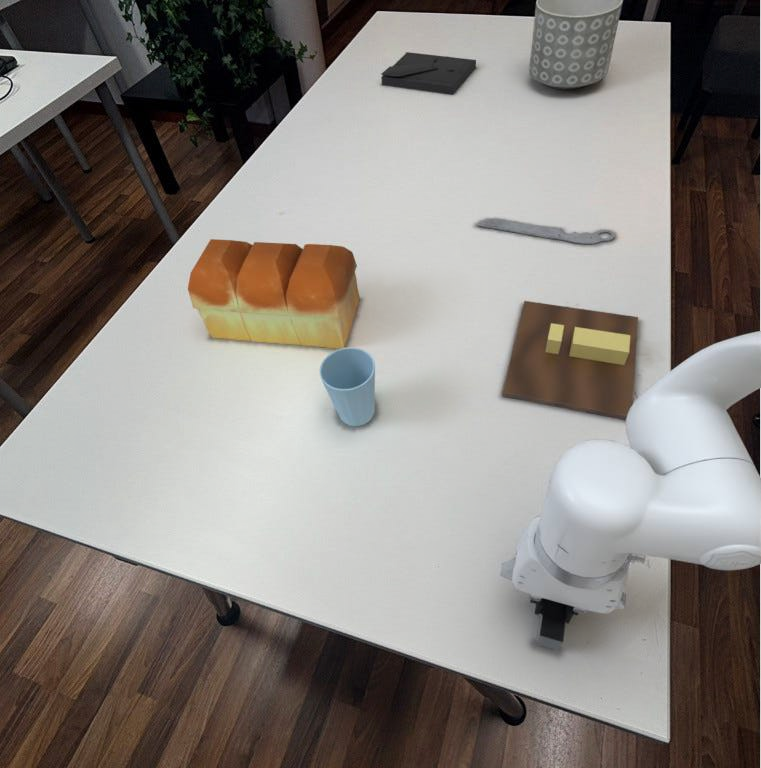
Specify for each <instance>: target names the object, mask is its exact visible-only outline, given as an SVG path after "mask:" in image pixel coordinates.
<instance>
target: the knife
mask: <svg viewBox="0 0 761 768" xmlns="http://www.w3.org/2000/svg"><path fill="white" fill-rule="evenodd" d="M476 227H482V228H486V229H493V230H499V231H504V232H509V233H515V234H522V235H529V236H535V237H540V238H546V239H551V240H560V241H565V242H569V243H574V244H581V245H594V244H599V243H601V242H610V241H612V240H614V239H615V236H616V234H615V232H614V231H612V230H610V229H600V230H597V231H595V232H582V233H581V232H580V233H579V232H572V233H567V232H564V231H563V230H562V227H556V226H546V225H539V224H532V223H526V222H521V221H516V220H515V221H514V220H510V219H504V218H485V219H482V220H480V221H479V222H478V223H477V224H476ZM603 233H608V234H610V235H611V236H610V237H607V238H602V237H600V234H603Z"/></svg>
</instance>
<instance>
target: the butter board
mask: <svg viewBox="0 0 761 768" xmlns="http://www.w3.org/2000/svg"><path fill="white" fill-rule="evenodd" d="M551 323H553V324H559V325H564V330H563V335H562V341H561V346H560V350H559V354H553V353H547V352H545V351H546V346H547V340H548V335H549V330H550V325H551ZM638 324H639V317H638V316H633V315H627V314H626V315H625V314H619V313H612V312H606V311H599V310H592V309H585V308H577V307H571V306H563V305H556V304H550V303H543V302H536V301H528V300H524V301H523V306H522V310H521V314H520V318H519V323H518V326H517V331H516V334H515V340H514V343H513V347H512V352H511V356H510V360H509V364H508V368H507V372H506V377H505V382H504V384H503V385H504V386H503V389H502V397H504V398H509V399H515V400H519V401H526V402H530V403H535V404H540V405H546V406H551V407H557V408H562V409H567V410H572V411H577V412H582V413H588V414H593V415H599V416H604V417H610V418H613V419H619V420H625V421H626V418H627V415H628V412H629V410H630V408H631V406H632V405H633V403H634V400H633V399H634V386H635V371H636V357H637V356H636V354H637V340H638V339H637V338H638ZM575 327H579V328H586V329H592V330H599V331H605V332H612V333H618V334H625V335H630V348H629V354H628V357H627V359H626V362H625V365H620V364H614V363H608V362H602V361H595V360H589V359H583V358H577V357H571V356H569V354H570V348H571V341H572V337H573V333H574V329H575Z"/></svg>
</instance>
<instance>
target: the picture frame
mask: <svg viewBox="0 0 761 768" xmlns="http://www.w3.org/2000/svg"><path fill="white" fill-rule="evenodd" d="M476 69H477V59H473V58H472V59H470V58H463V57H455V56H446V55H436V54H428V53H427V54H426V53H419V52H409V51H406V52H405V53H404V54H403V55H402V56H401V57H400V58H399V60H397V61H396V62H395V63H394V64H393V65H392V66H388V68H386V69H385V70H383V72H381V73H380V75H381V79H380V80H381V85H382V86H388V87H395V88H402V89H409V90H416V91H422V92H423V91H424V92H431V93H438V94H445V95H454V94H455V93H456V92H457V91H458V89H459V88H460V87H461V86H462V85H463V84H464V82H465V81H467V79H468V78H469V77H470V76H471V75H472V73H473V72H474V71H475V70H476Z"/></svg>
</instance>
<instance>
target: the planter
mask: <svg viewBox="0 0 761 768" xmlns="http://www.w3.org/2000/svg"><path fill="white" fill-rule="evenodd" d="M623 3H624V0H536V2H535V10H534V20H533V30H532V40H531V49H530V58H529V67H528V72H529V76H530V77H531V78H532V79H534V80H535V81H537V82H538V83H541V84H543V85H545V86H548V87H550V88H553V89H557V90H567V91H568V90H574V89H579V88H582V87H585V86H589V85H592V84H595V83H597V82H599V81H601V80H602V79H604V78H605V77H606V76H607V74H608V72H609V70H610V69H609V68H610V65H611V59H612V55H613V49H614V44H615V41H616V36H617V30H618V26H619V21H620V16H621V13H622V7H623Z"/></svg>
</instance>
